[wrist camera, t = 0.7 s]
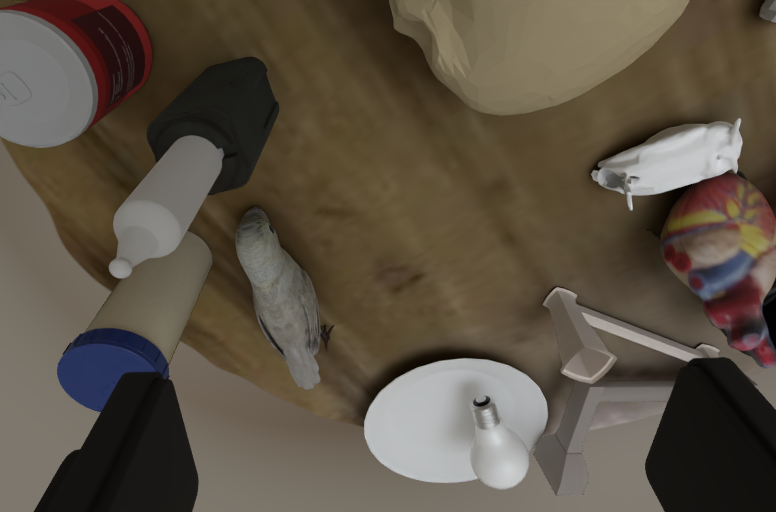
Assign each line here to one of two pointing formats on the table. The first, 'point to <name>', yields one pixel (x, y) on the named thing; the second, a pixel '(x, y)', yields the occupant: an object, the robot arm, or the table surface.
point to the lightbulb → (496, 447)
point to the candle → (195, 157)
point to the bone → (768, 10)
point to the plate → (448, 416)
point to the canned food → (67, 67)
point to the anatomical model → (726, 257)
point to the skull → (530, 45)
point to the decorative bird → (281, 297)
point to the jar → (159, 295)
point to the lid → (105, 364)
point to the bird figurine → (672, 159)
